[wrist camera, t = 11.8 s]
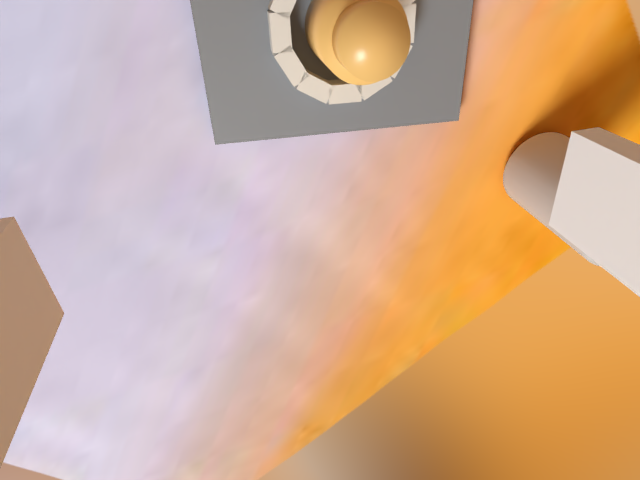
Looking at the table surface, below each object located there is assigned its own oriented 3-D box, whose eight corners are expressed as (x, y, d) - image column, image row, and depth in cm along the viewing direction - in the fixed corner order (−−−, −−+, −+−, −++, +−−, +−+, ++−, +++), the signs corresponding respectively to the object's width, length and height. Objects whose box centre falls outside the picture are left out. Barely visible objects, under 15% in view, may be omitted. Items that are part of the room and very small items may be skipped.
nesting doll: (306, 67, 30) (328, 97, 23) (302, -16, 27) (325, -10, 20) (376, 62, 30) (418, 89, 23) (378, -20, 28) (426, -16, 21)
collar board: (215, 138, 32) (214, 152, 30) (173, -105, 25) (167, -112, 22) (451, 115, 34) (468, 126, 32) (478, -115, 27) (502, -122, 25)
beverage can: (483, 182, 38) (575, 260, 28) (532, 115, 36) (652, 174, 25) (534, 209, 40) (635, 289, 30) (584, 147, 38) (712, 213, 28)
